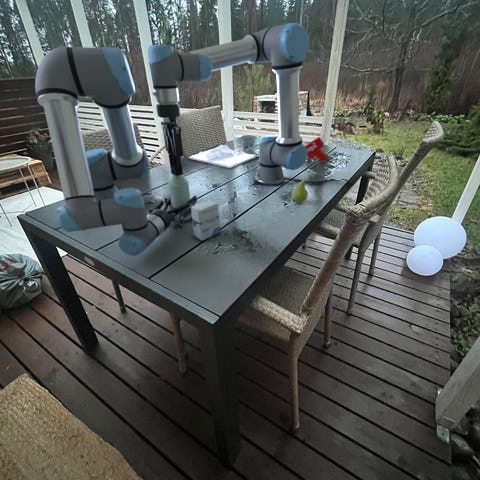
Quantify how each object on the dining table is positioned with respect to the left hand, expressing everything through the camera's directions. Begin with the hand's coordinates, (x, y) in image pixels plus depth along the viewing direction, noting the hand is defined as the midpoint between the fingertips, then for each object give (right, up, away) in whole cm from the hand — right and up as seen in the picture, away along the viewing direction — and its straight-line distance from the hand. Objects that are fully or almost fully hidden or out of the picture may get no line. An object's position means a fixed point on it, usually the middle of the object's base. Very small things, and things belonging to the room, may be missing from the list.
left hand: (186, 197), depth 111 cm
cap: (-2, +9, -11) cm, 15 cm away
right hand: (-2, +7, -10) cm, 13 cm away
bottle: (-1, -8, 0) cm, 8 cm away
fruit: (+49, 0, +11) cm, 50 cm away
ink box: (+10, -16, -12) cm, 22 cm away
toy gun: (+66, +32, +61) cm, 96 cm away
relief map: (+10, +37, +69) cm, 79 cm away
